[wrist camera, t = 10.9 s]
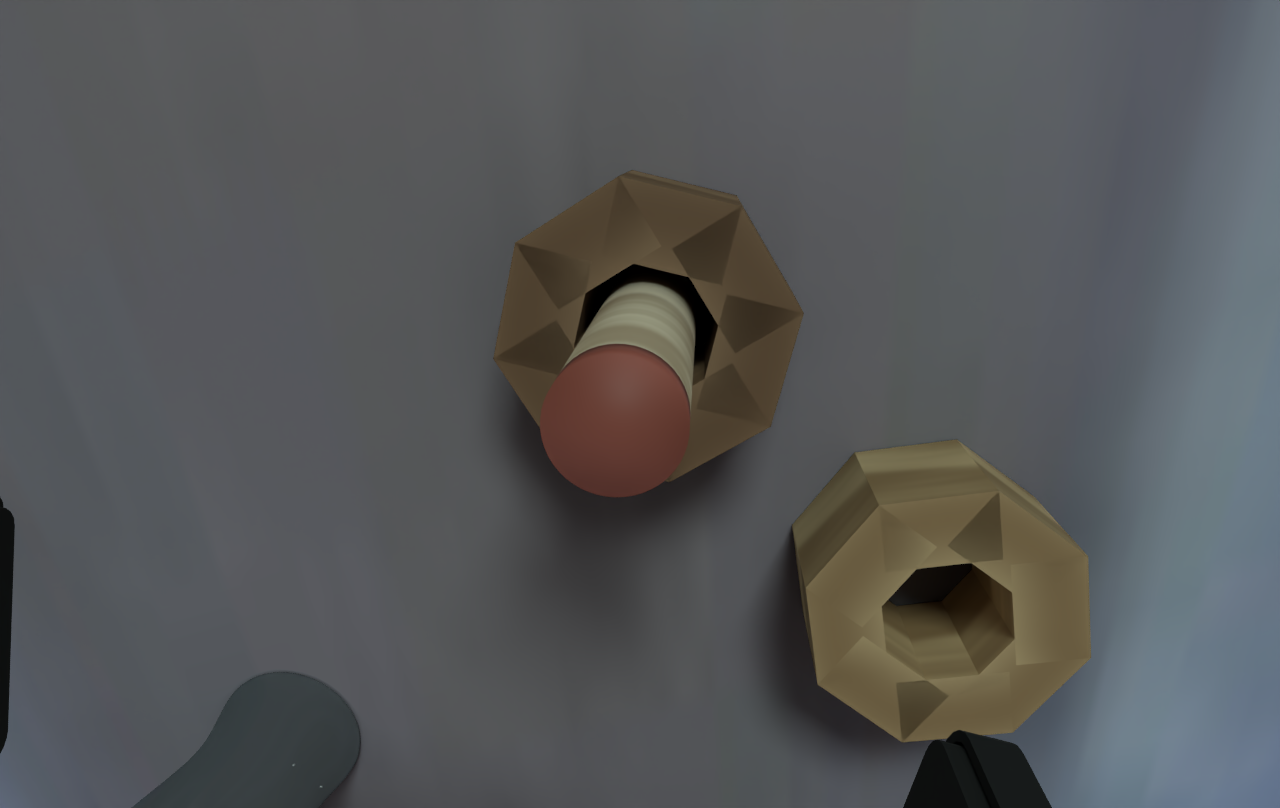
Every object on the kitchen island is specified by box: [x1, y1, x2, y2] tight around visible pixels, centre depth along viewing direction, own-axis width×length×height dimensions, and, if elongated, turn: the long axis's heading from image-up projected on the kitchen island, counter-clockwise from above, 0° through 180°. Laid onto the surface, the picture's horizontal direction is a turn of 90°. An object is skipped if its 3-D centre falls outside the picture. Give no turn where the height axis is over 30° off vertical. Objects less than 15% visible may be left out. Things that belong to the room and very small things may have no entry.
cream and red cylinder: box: [540, 265, 697, 497], centre depth 26 cm, size 3×3×14 cm
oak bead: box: [792, 439, 1091, 742], centre depth 32 cm, size 9×9×5 cm
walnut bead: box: [493, 170, 804, 482], centre depth 30 cm, size 9×9×5 cm
